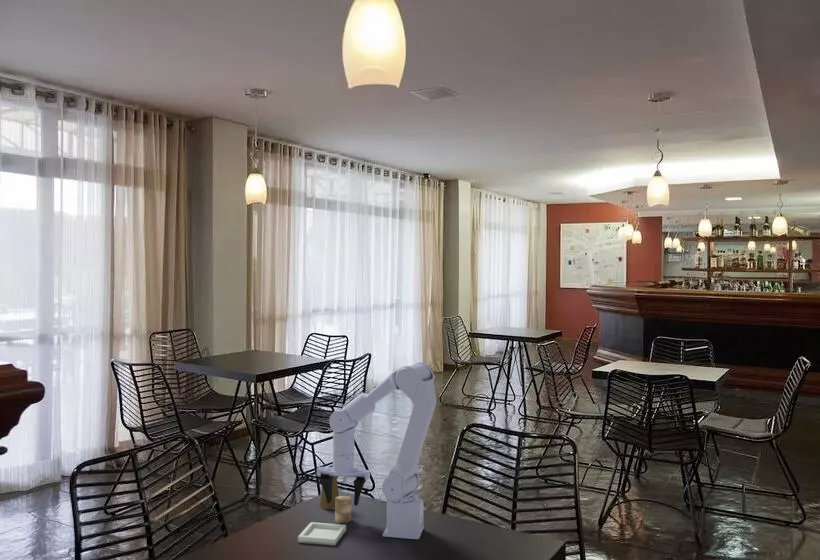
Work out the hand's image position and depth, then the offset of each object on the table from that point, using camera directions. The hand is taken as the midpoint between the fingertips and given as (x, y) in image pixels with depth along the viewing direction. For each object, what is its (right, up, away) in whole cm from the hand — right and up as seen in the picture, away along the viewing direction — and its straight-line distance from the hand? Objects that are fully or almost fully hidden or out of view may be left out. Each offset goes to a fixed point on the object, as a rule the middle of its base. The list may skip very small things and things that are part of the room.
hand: (342, 503), depth 173 cm
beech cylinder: (0, -5, 0) cm, 5 cm away
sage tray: (-4, -5, -11) cm, 13 cm away
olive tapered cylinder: (-5, -5, +11) cm, 13 cm away
